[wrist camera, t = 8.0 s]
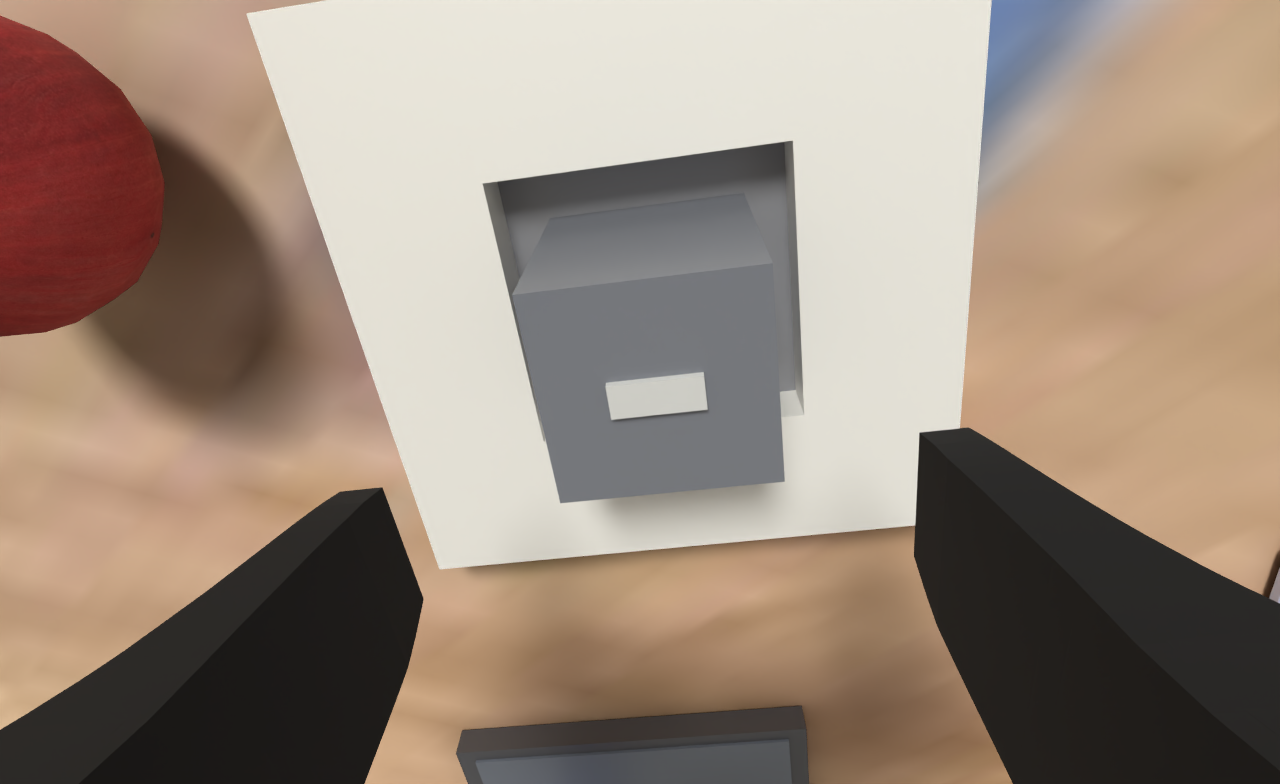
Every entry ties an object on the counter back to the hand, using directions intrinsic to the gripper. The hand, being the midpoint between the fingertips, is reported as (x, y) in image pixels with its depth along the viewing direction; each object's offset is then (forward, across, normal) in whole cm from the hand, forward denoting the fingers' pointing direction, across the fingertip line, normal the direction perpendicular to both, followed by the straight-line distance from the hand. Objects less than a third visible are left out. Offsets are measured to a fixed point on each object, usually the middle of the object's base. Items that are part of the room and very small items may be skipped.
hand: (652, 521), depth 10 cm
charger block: (+9, 0, 0) cm, 9 cm away
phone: (+9, +3, +19) cm, 21 cm away
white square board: (+9, 0, 0) cm, 9 cm away
